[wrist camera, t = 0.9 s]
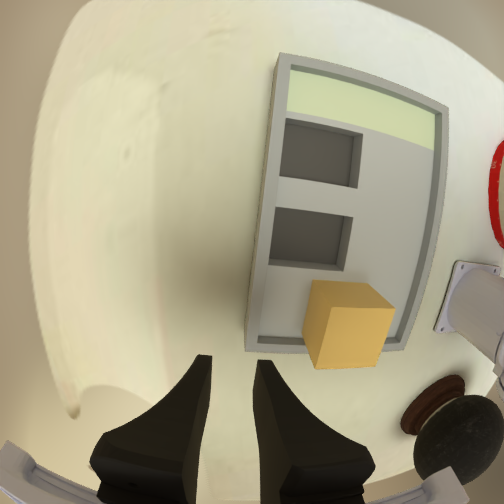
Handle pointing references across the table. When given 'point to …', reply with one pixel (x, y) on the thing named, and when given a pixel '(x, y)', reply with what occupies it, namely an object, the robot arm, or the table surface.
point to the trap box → (344, 197)
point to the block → (345, 324)
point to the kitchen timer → (497, 194)
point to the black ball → (453, 430)
